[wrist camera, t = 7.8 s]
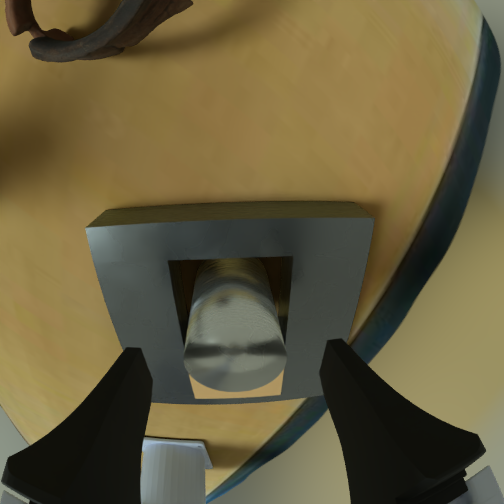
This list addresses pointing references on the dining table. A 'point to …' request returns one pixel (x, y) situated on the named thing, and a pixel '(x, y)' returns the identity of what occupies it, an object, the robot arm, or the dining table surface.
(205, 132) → the dining table surface
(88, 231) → the hole plate
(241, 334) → the steel peg
